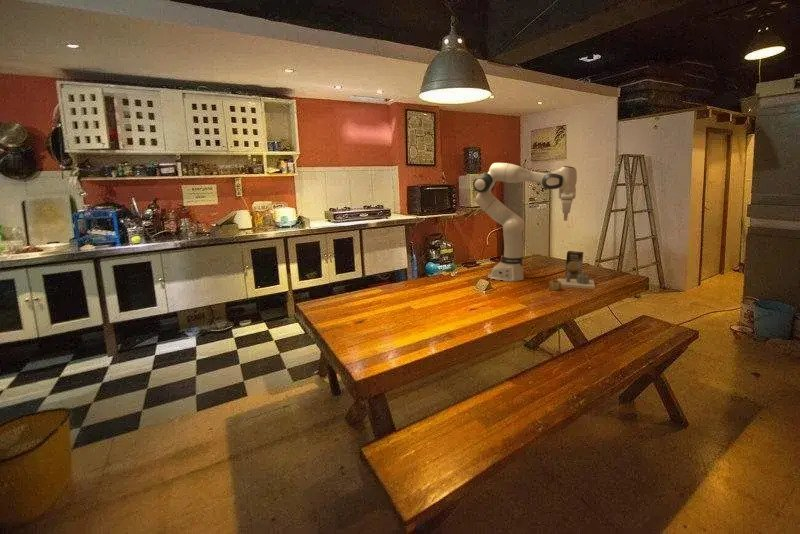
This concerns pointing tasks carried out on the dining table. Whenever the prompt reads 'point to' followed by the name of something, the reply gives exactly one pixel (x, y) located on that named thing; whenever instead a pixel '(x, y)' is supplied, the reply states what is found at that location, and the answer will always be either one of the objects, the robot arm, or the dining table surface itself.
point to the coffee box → (574, 263)
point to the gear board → (577, 282)
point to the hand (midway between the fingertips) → (565, 219)
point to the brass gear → (555, 285)
